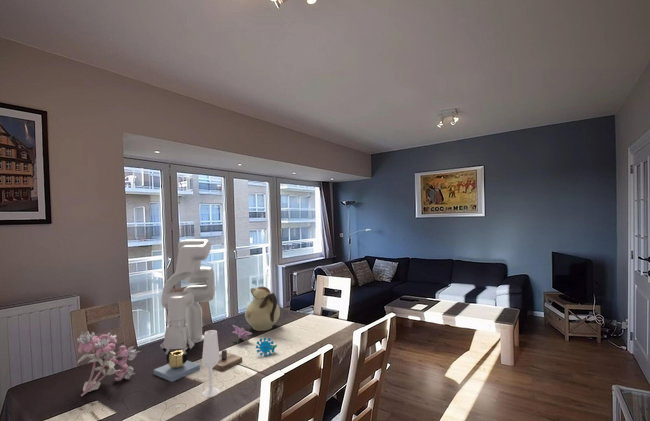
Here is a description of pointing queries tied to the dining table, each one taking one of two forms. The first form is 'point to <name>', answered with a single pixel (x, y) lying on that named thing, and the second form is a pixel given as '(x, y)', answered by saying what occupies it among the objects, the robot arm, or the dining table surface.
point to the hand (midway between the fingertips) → (177, 361)
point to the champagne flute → (210, 359)
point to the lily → (241, 332)
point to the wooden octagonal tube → (176, 358)
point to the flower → (107, 348)
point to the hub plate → (176, 371)
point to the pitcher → (262, 309)
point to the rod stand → (227, 361)
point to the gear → (265, 346)
